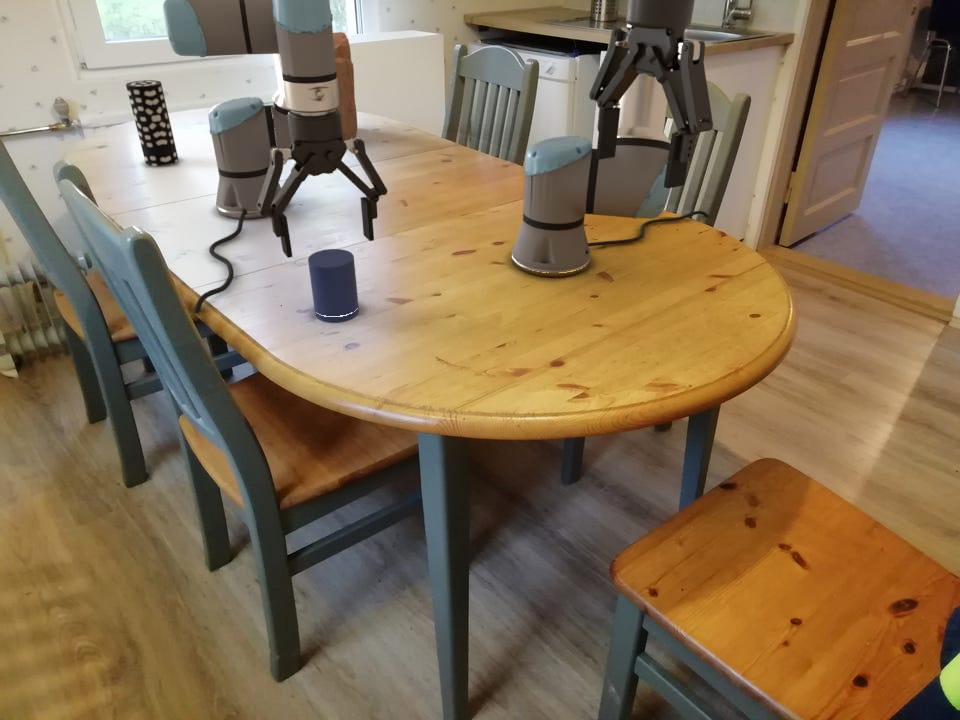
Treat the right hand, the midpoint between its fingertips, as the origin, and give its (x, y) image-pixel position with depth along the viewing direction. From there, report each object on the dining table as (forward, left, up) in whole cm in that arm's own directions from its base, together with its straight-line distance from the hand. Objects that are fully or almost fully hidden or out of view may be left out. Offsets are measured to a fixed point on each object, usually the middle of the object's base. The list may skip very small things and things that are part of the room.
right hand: (637, 171), depth 90 cm
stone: (-6, -141, -29) cm, 144 cm away
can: (+32, -34, -29) cm, 55 cm away
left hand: (+32, -34, -17) cm, 50 cm away
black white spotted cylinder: (+46, -136, -19) cm, 145 cm away
